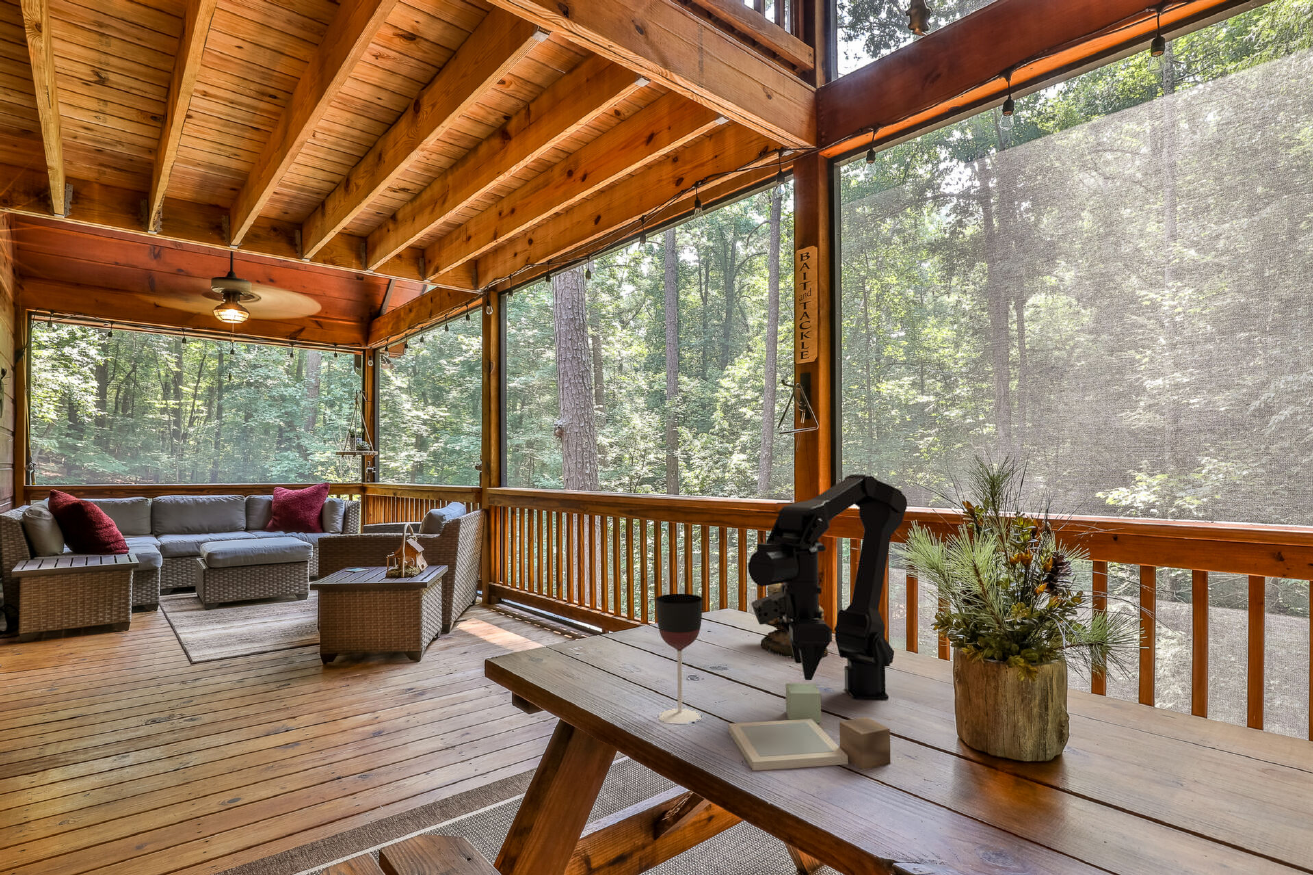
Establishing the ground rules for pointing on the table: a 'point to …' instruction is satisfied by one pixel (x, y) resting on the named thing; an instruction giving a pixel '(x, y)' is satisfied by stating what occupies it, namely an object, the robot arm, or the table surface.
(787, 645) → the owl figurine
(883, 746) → the walnut cube
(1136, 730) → the table surface
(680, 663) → the wineglass
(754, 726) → the tray
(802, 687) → the sage cube
